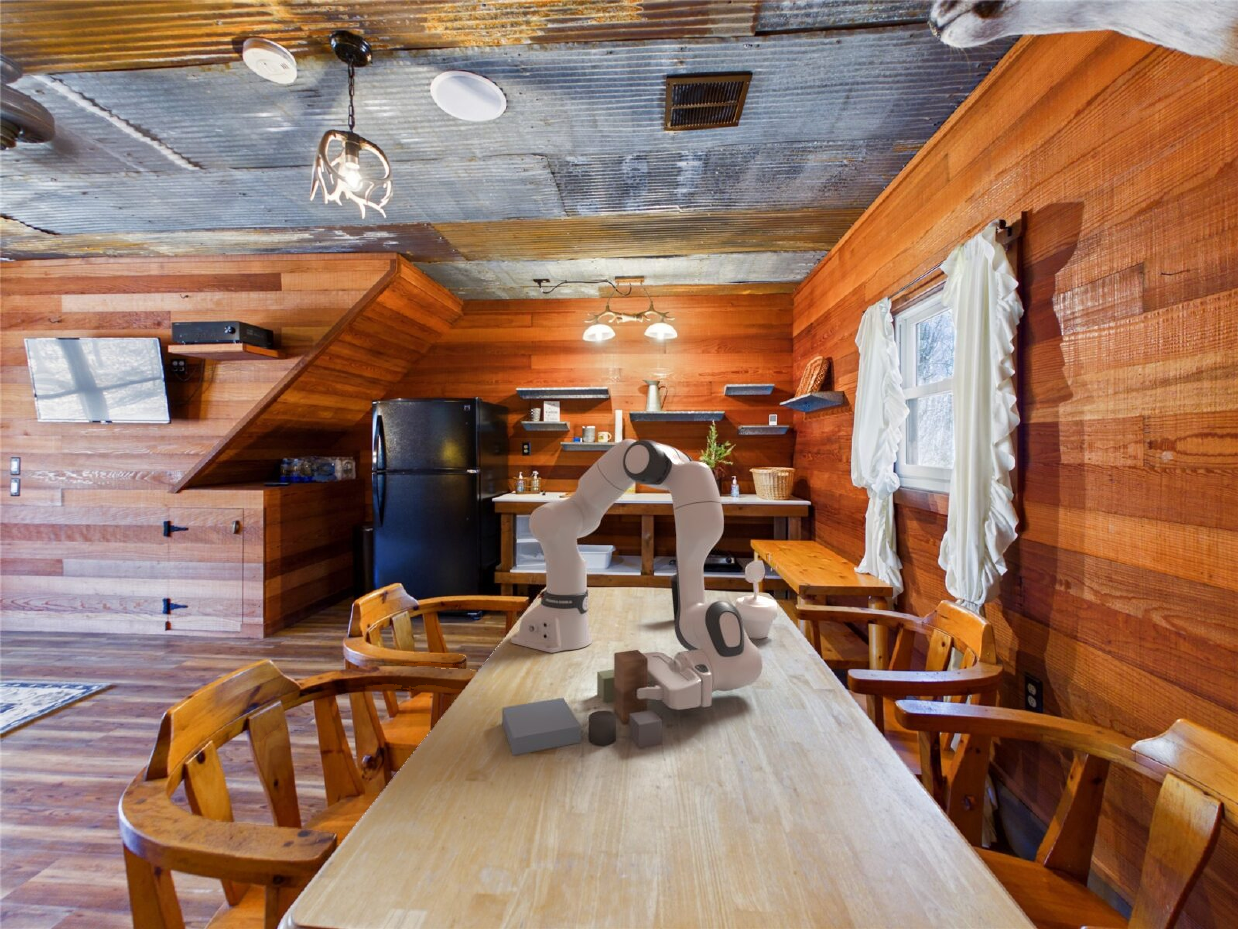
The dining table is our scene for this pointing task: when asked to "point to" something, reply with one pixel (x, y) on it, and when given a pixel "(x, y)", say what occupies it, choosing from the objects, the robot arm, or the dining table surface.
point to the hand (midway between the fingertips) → (626, 683)
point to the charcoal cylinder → (602, 728)
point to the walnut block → (629, 683)
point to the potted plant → (756, 604)
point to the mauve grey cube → (645, 729)
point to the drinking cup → (674, 594)
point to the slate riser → (540, 726)
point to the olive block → (605, 685)
